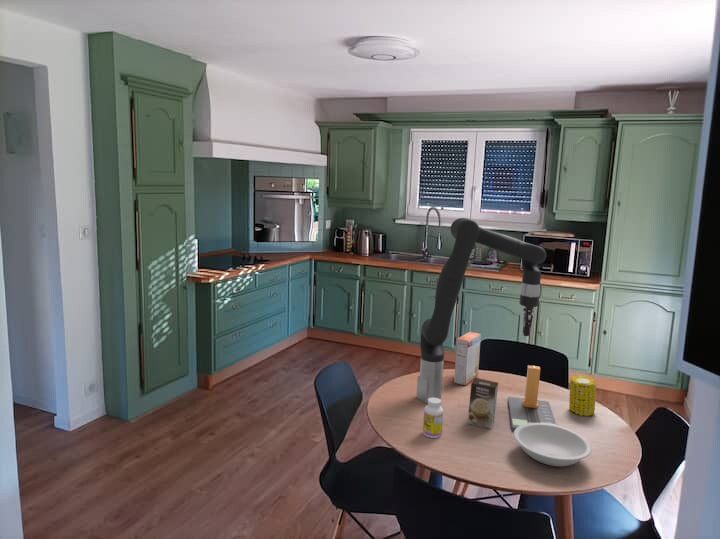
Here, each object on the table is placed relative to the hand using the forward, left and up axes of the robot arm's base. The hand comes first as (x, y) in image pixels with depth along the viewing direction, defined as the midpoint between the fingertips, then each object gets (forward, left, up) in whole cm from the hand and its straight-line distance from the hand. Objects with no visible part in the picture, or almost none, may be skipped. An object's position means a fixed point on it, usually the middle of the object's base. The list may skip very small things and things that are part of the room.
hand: (525, 334), depth 215 cm
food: (+10, -22, -27) cm, 36 cm away
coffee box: (-33, -10, -27) cm, 44 cm away
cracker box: (-8, +24, -27) cm, 37 cm away
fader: (-7, -11, -25) cm, 28 cm away
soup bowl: (-31, -39, -27) cm, 57 cm away
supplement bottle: (-55, -8, -27) cm, 62 cm away
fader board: (-12, -16, -27) cm, 34 cm away
